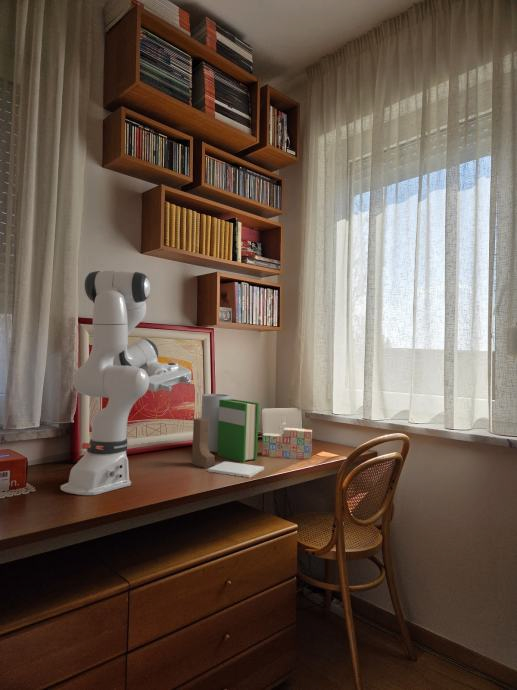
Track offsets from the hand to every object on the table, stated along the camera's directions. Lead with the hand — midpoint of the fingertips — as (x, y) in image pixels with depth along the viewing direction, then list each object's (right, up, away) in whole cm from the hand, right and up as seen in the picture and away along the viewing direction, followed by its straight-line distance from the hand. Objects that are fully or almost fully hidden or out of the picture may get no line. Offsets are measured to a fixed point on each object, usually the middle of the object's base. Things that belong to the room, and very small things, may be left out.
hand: (180, 385), depth 183 cm
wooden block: (+9, -31, -3) cm, 33 cm away
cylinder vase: (+10, -32, +28) cm, 44 cm away
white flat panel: (+23, -31, -8) cm, 40 cm away
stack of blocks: (+43, -33, +20) cm, 58 cm away
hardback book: (+22, -32, +14) cm, 41 cm away
